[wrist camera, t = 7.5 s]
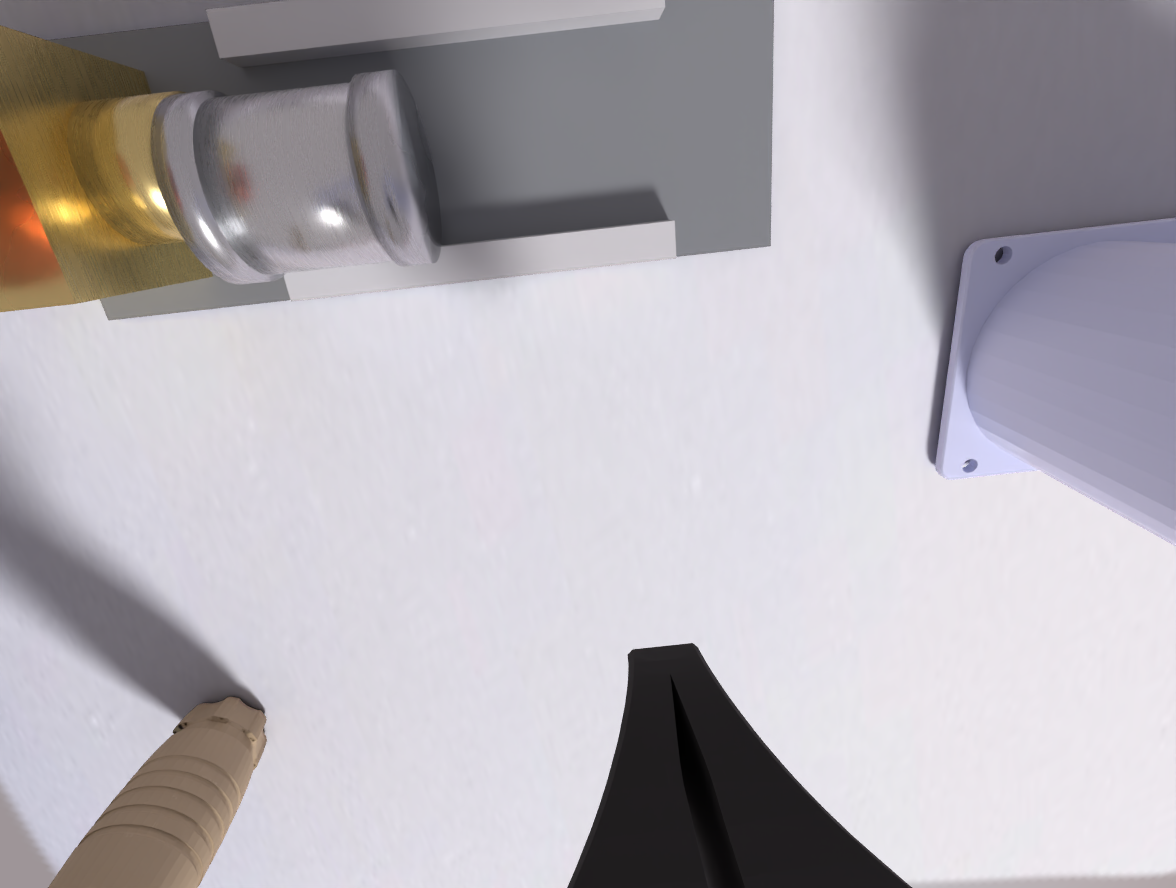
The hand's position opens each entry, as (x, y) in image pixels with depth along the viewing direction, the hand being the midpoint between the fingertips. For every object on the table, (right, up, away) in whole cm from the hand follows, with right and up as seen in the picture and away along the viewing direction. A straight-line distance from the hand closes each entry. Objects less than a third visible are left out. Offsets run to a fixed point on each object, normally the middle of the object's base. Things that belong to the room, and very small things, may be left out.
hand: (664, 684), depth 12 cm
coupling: (-8, +13, +4) cm, 16 cm away
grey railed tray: (-6, +13, +5) cm, 15 cm away
